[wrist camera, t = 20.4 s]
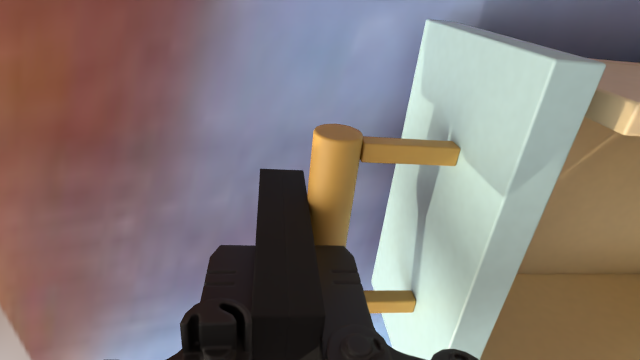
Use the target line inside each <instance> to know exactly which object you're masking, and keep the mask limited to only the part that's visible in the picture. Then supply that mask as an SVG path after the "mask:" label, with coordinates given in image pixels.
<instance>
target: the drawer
mask: <svg viewBox="0 0 640 360" xmlns="http://www.w3.org/2000/svg"><path fill="white" fill-rule="evenodd" d="M359 160H361V162H369V163H392V164H396V166H395V171H394V176H393V180H392V185H391V190H390V195H389V200H388V204H387V209H386V214H385V219H384V223H383V228H382V233H381V238H380V242H379V247H378V252H377V257H376V262H375V266H374V271H373V276H372V281H371V282H372V285H373V288H374V291H364V295H365V298H366V302H367V305H368V309H369V312H370V313H382V316H383V319H384V323H385V326H386V329H387V332H388V335H389V338H390V341H391V344H392V347H393V349H395V350H397V351H399V352H402V353H404V354H407V355H411V356H415V357H418V358H422V359H426V360H431V358H432V357H433V355H434V354H435V353H437V352H439V351H440V350H442V349H457V350H461V351H465V352H467V353H469V354H471V355H472V356H474V357H476V358H478V359H479V360H640V63H634V62H623V61H612V60H601V59H590V58H584V57H581V56H577V55H574V54H570V53H566V52H563V51H559V50H555V49H552V48H548V47H545V46H541V45H537V44H534V43H530V42H527V41H523V40H519V39H516V38H512V37H508V36H505V35H501V34H498V33H494V32H490V31H487V30H483V29H479V28H476V27H472V26H469V25H465V24H461V23H458V22H452V21H442V20H432V19H427V20H426V23H425V28H424V33H423V37H422V42H421V47H420V52H419V56H418V61H417V66H416V71H415V75H414V80H413V85H412V90H411V95H410V99H409V104H408V109H407V114H406V118H405V123H404V128H403V133H402V137H401V138H383V137H364V136H363V135H362V133H361V132H360V131H359V130H357V129H355V128H353V127H350V126H346V125H341V124H324V125H320V126H318V127H316V128H315V130H314V132H313V143H312V153H311V163H310V174H309V184H308V194H307V199H308V205H309V211H310V218H311V224H312V231H313V237H314V244H315V245H337V246H344V247H346V241H347V235H348V229H349V222H350V216H351V210H352V204H353V197H354V191H355V185H356V179H357V173H358V166H359Z"/></svg>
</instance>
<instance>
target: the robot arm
mask: <svg viewBox="0 0 640 360" xmlns="http://www.w3.org/2000/svg"><path fill="white" fill-rule="evenodd" d="M357 271H358V270H357V267H356V263H355V260H354V257H353V256H352V254H351V253H350V252H349V251H348V250H347V249H346V248H345V247H344V246H337V245H315V244H314V237H313V231H312V224H311V218H310V211H309V205H308V199H307V192H306V185H305V179H304V172H303V170H278V169H260V182H259V198H258V214H257V230H256V246H241V245H220V246H219V247H218V249H217V250H216V251H215V252H214V253H213V254H212V256H211V257H210V260H209V264H208V269H207V274H206V278H205V284H204V287H203V292H202V296H201V301H200V303H198V304H196V305H194V306H193V307H192V308H191V309H190V310H189V311H188V312H186V313H185V315H184V317H183V319H182V321H181V323H180V329H181V340H182V349H181V350H180V351H179V352H178V353H177V354H175V355H173V356H172V357H170V358H169V359H166V360H426V359H422V358H418V357H415V356H411V355H407V354H404V353H402V352H399V351H397V350H395V349H393V348H392V347H390V346H388V345H387V344H386V342H385V340H384V338H383V337H382V336H381V335H379V334H378V333H377V332H376V331H375V328H374V326H373V323H372V319H371V316H370V312H369V309H368V305H367V302H366V298H365V295H364V291H363V288H362V284H361V281H360V277H359V274H358V272H357ZM431 360H479V359H478V358H476V357H474V356H472V355H471V354H469V353H467V352H465V351H461V350H457V349H442V350H440V351H439V352H437V353H435V354H434V355H433V357H432V358H431Z"/></svg>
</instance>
